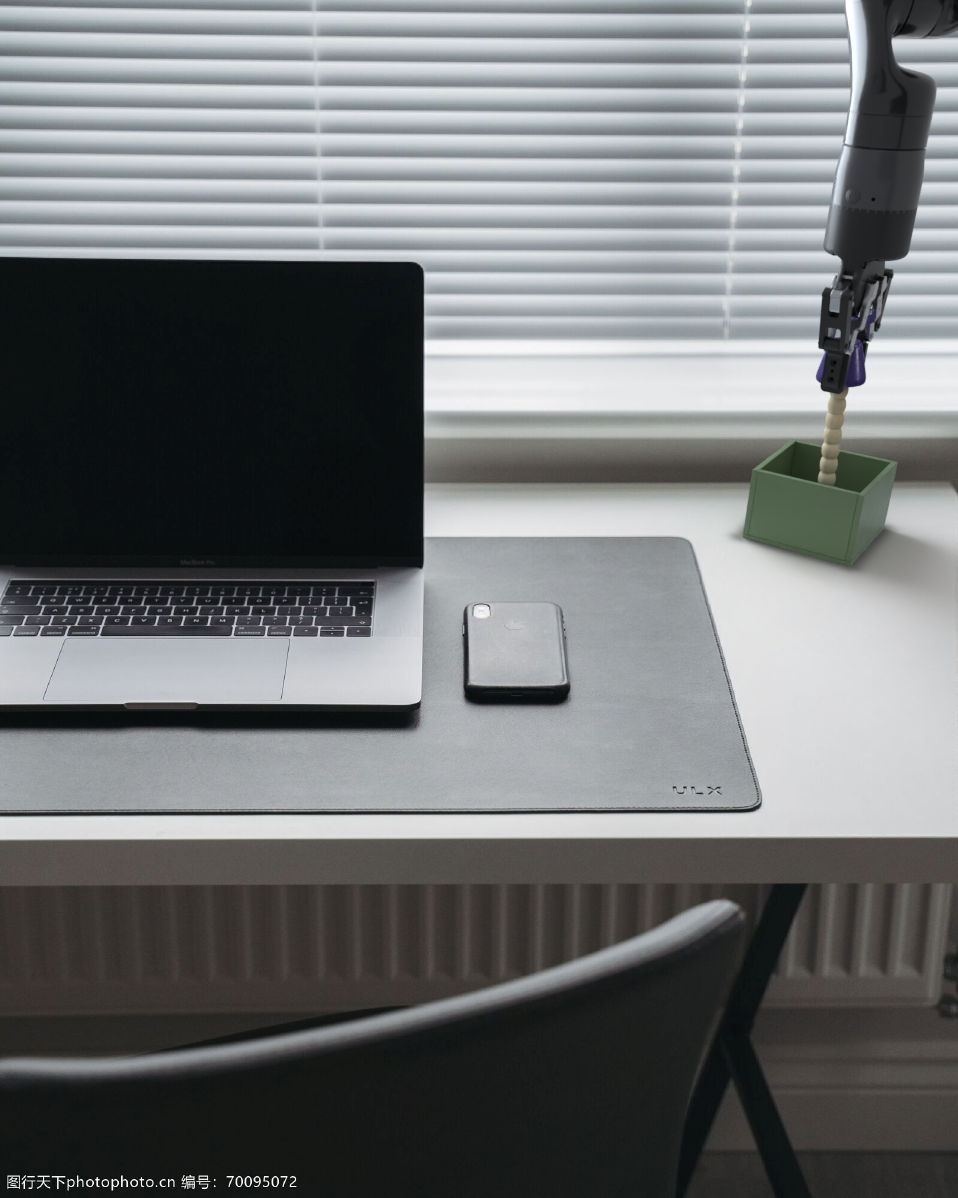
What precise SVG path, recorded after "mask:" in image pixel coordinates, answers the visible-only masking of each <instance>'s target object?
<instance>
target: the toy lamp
mask: <svg viewBox="0 0 958 1198" xmlns="http://www.w3.org/2000/svg"><path fill="white" fill-rule="evenodd" d="M835 338H840V336H835ZM825 356H826V352H825V351H824V353H823V355H822V358H821V361H820V363H819V365H818V368H817V371H816V374H815V379H816V381H817V382H818V383H819V384H821V379H822V373H823V368H824V362H825ZM865 364H866V360H865V361H864V354H863V346H862V342H861V341H860V340H859V339H856V341H855V344H854V350H853V352H852V354H851V361H850V366H849V372H848V377H847V383H846V388H845V390H844V391H843V392H842V393H840V394H835V393H830V392H829V395H830V397H829V399H828V401H827V407H826V408H827V411H828V412H827V413H826V416H825V428H824V430H823V434H822V435H823V443H822V444H821V445H822V449H821V452H822V458H821V460H820V470H821V471H820V473H819V476H818V483H820V484H824V485H829V486H833V487H836V486H834V484H835V481H836V475H835V471H836V469H837V466H838V460H837V457H838V455H839V452H840V449H841V446H840V442H841V441H842V438H843V437H842V436H843V430H842V427H843V425H844V421H845V417H844V412H845V410H846V408H847V399H846V398H847V396H848V394H849V390H850V388H857V387H861V386H863V385H864V384H866V381H867V372H866V365H865ZM837 488H838V487H837Z"/></svg>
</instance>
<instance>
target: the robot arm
mask: <svg viewBox="0 0 958 1198" xmlns="http://www.w3.org/2000/svg"><path fill="white" fill-rule="evenodd" d="M843 1H844V2H843V3H844V20H845V28H846V36H847V37H846V38H847V45H848V56H849V57H848V59H849V78H850V79H849V81H850V82H849V83H850V84H849V86H850V88H849V90H850V92H849V93H850V94H849V102H848V109H847V110H848V111H847V113H846V120H845V127H844V133H843V140H842V143H843V144H842V145H841V150H840V153H839V157H838V161H837V163H836V167H835V171H834V176H833V182H832V189H831V194H830V202H829V207H828V212H827V213H828V214H827V221H826V226H825V231H824V232H825V233H824V238H823V245H822V246H823V250H824V251H825V252H826V253H827V254H828V255H830V256H834V257H836V256H837V258H839V259H840V260H841V261H840V265H839V269H838V272H837V274H835V275H834V277H833V278H832V282H831V286H830V287H826V286H825V287H824V289H823V291H822V293H821V305H820V318H819V331H818V341H817V348H818V349H820V350H823V352H824V353H825V352H826V356H825V362H824V368H823V373H822V379H821V383H820V384H819V385H820V386H819V387H820V390H821V391H822V392H824V393H829V394H830V393H835V394H840V393H842V392H843V391H844V390H845V388H846V383H847V377H848V372H849V366H850V361H851V354H852V352H853V350H854V344H855V341H856V339H859V340H860V341H861V342H862V346H863V354H864V361H865V362H866V360H867V354H868V348H869V345H870V344H869V343H871V342H872V340H873V339H874V337H875V333H878V332H879V330H880V328H881V326H882V325H881V323H882V320H883V315H884V311H885V307H886V304H887V299H888V296H889V292H890V288H891V284H892V281H893V279H894V275H895V273H894V268H893V269H892V268H886V262H894V261H895V262H896V261H900V260H902V259H904V258H907V256H908V255H909V253H910V248H911V242H912V237H913V232H914V228H915V222H916V218H917V214H918V207H919V202H920V198H921V192H922V189H923V188H922V186H923V184H924V183H923V182H924V175H925V164H926V163H925V159H926V152H927V149H926V148H927V147H928V141H929V136H930V131H931V126H932V120H933V115H934V109H935V105H936V100H937V93H938V92H937V91H938V89H937V88H938V87H937V83H936V80H935V79H934V78H933V77H932V76H930V74H927V73H925V72H921V71H918V70H914V69H910V68H906V67H903V66H901V65H899V63H898V61H897V59H896V56H895V53H894V49H893V39H902V40H903V39H905V40H913V39H914V40H939V39H942V38H943V39H944V38H947V37H949V36H951V35H953V34H955V33H958V0H843ZM837 330H838V331H840V335H839V337H840V338H835V337H836V335H837Z"/></svg>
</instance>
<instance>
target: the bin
mask: <svg viewBox="0 0 958 1198" xmlns="http://www.w3.org/2000/svg"><path fill="white" fill-rule="evenodd" d="M822 445H823V444H818V443H814V442H813V443H812V442H809V441H803V440H799V439H794V438H792V439H790V440H789V441H788V442H786V443H785V444H784V445H783V446H781V447H780V448H778V449H777V450H775V452H774V453H772V454H771V455H770V456H768V457H767V458H765V460H763V461H762V462H761V463H759V464H758V465H756V467H754V468H752V470H751V477H750V483H749V490H748V496H747V505H746V512H745V518H744V524H743V531H742V538H743V539H747V540H751V541H755V542H758V543H761V544H766V545H769V546H772V547H776V548H781V549H784V550H788V551H792V552H795V553H799V554H803V555H806V556H810V557H813V558H817V559H821V560H825V561H830V562H832V563H836V564H840V565H844V566H847V567H851V566H852V565H853V564H854V563H855V562H856V561H857V560H858V559H859V557H860V556H861V555H862V554H863V553H864V552H865V550H867V549H868V548H869V546H870V545H871V544H872V543H873V541H874V540H876V538H878V536H879V535H880V534H881V533H882V532H883V530H884V529H885V527H886V526H885V524H886V521H887V515H888V512H889V508H890V507H889V506H890V502H891V498H892V492H893V488H894V484H895V479H896V474H897V469H898V464H899V462H898V461H895V460H890V459H887V458H881V457H877V456H872V455H867V454H864V453H859V452H853V451H849V450H846V449H841V448H840V452H839V455H838V457H837V460H838V466H837V469H836V471H835V475H836V481H835V484H834V486H836V487H833V486H829V485H824V484H820V483H818V476H819V473H820V471H821V470H820V460H821V458H822V452H821V449H822ZM837 487H838V488H837Z"/></svg>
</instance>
